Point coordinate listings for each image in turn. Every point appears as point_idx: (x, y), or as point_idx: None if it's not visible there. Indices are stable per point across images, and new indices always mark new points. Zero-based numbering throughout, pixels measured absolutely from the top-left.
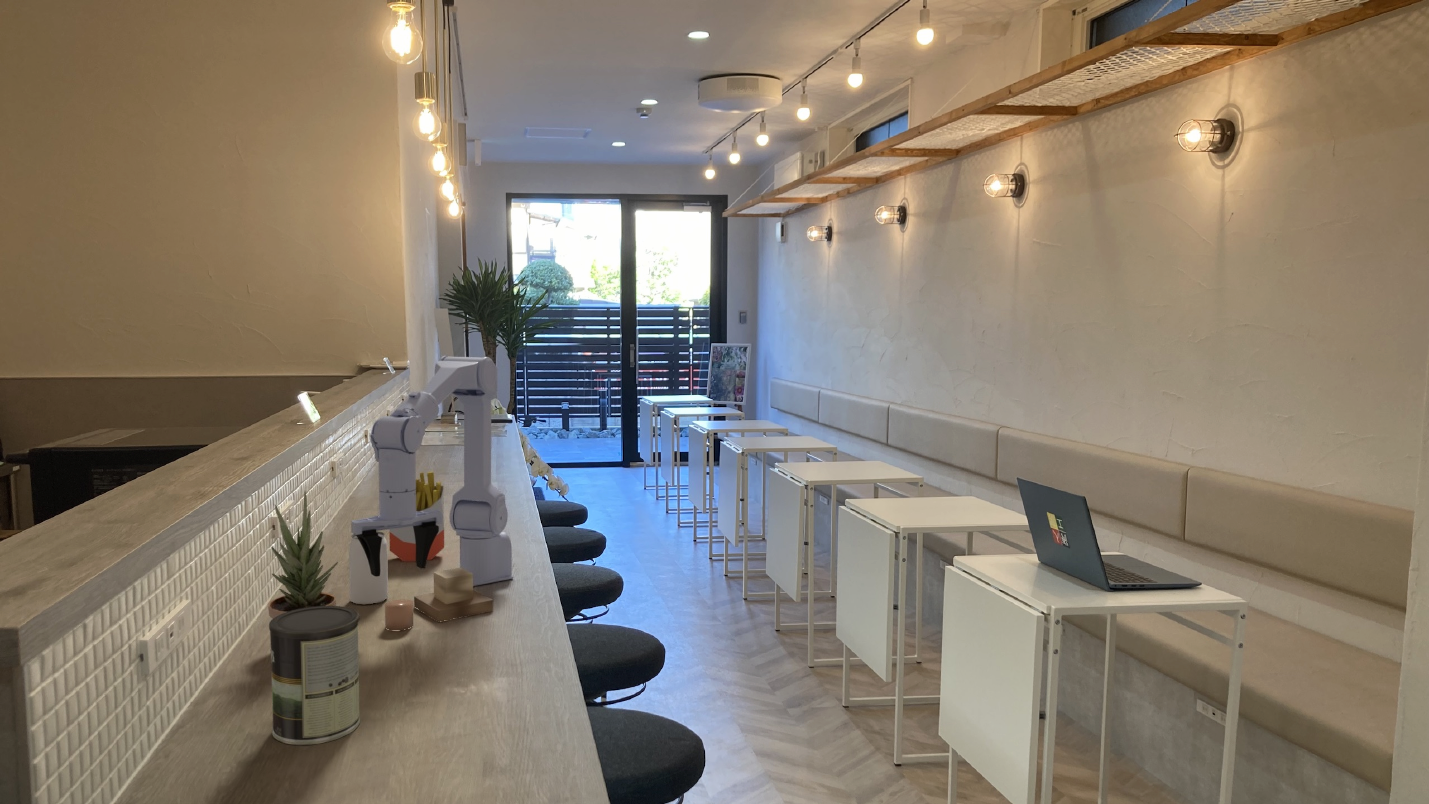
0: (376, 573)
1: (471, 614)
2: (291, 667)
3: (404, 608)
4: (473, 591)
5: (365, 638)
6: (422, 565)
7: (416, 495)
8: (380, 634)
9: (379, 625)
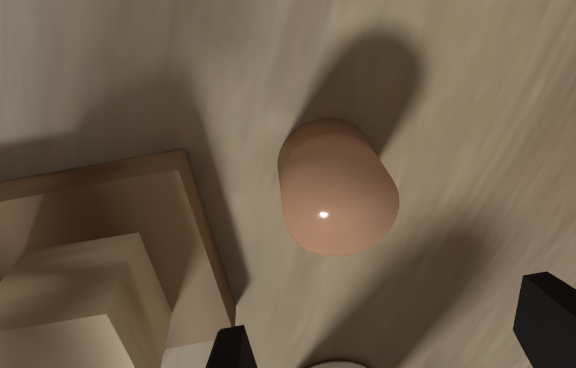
0: (562, 283)
1: (51, 174)
2: None
3: (334, 156)
4: None
5: (463, 96)
6: (237, 341)
7: None
8: (405, 114)
9: None
